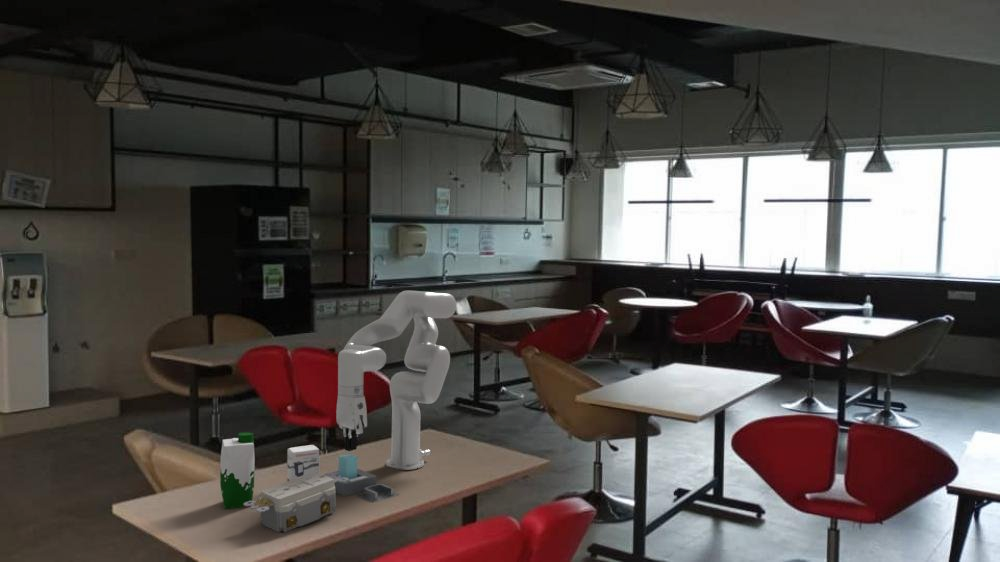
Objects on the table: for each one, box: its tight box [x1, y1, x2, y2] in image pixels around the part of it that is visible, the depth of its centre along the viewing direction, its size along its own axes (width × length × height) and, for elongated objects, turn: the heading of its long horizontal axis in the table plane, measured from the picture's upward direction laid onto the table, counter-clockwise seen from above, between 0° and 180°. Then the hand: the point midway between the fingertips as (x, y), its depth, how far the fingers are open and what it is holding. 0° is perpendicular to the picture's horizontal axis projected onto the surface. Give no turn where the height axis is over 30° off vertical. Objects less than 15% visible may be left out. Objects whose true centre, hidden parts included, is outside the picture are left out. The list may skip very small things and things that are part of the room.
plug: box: [338, 453, 359, 479], centre depth 231 cm, size 4×4×10 cm
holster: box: [356, 483, 401, 503], centre depth 224 cm, size 10×8×3 cm
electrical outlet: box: [243, 472, 349, 533], centre depth 205 cm, size 12×28×10 cm, turn 140°
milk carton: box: [219, 431, 255, 510], centre depth 215 cm, size 9×9×20 cm
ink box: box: [286, 444, 320, 482], centre depth 232 cm, size 8×5×12 cm, turn 123°
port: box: [322, 468, 378, 497], centre depth 231 cm, size 12×12×4 cm
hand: (350, 449), depth 231 cm, fingers closed
